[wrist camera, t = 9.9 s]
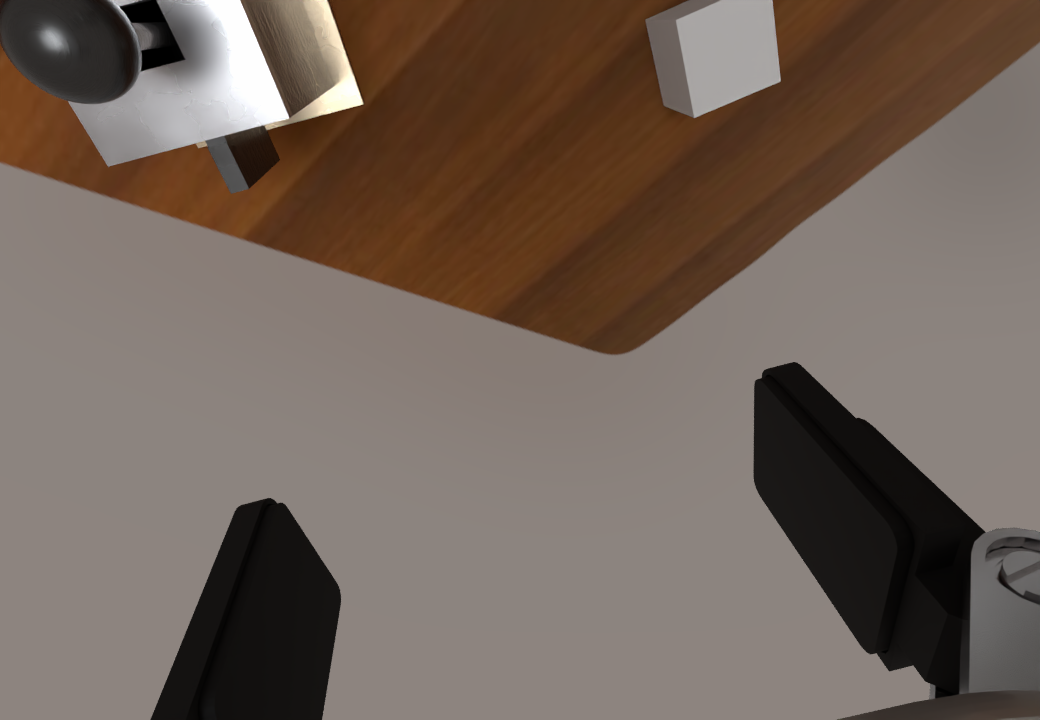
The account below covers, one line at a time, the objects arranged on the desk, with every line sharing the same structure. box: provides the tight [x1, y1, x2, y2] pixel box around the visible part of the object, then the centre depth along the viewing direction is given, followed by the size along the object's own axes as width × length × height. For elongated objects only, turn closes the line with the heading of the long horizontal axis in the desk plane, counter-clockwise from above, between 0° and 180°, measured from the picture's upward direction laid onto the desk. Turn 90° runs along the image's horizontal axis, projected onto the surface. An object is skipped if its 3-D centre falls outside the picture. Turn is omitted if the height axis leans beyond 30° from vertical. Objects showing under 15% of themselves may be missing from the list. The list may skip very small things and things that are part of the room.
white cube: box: [645, 0, 781, 118], centre depth 38 cm, size 6×6×6 cm
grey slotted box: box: [68, 0, 364, 193], centre depth 31 cm, size 12×13×14 cm
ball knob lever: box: [0, 0, 185, 104], centre depth 25 cm, size 6×6×17 cm
